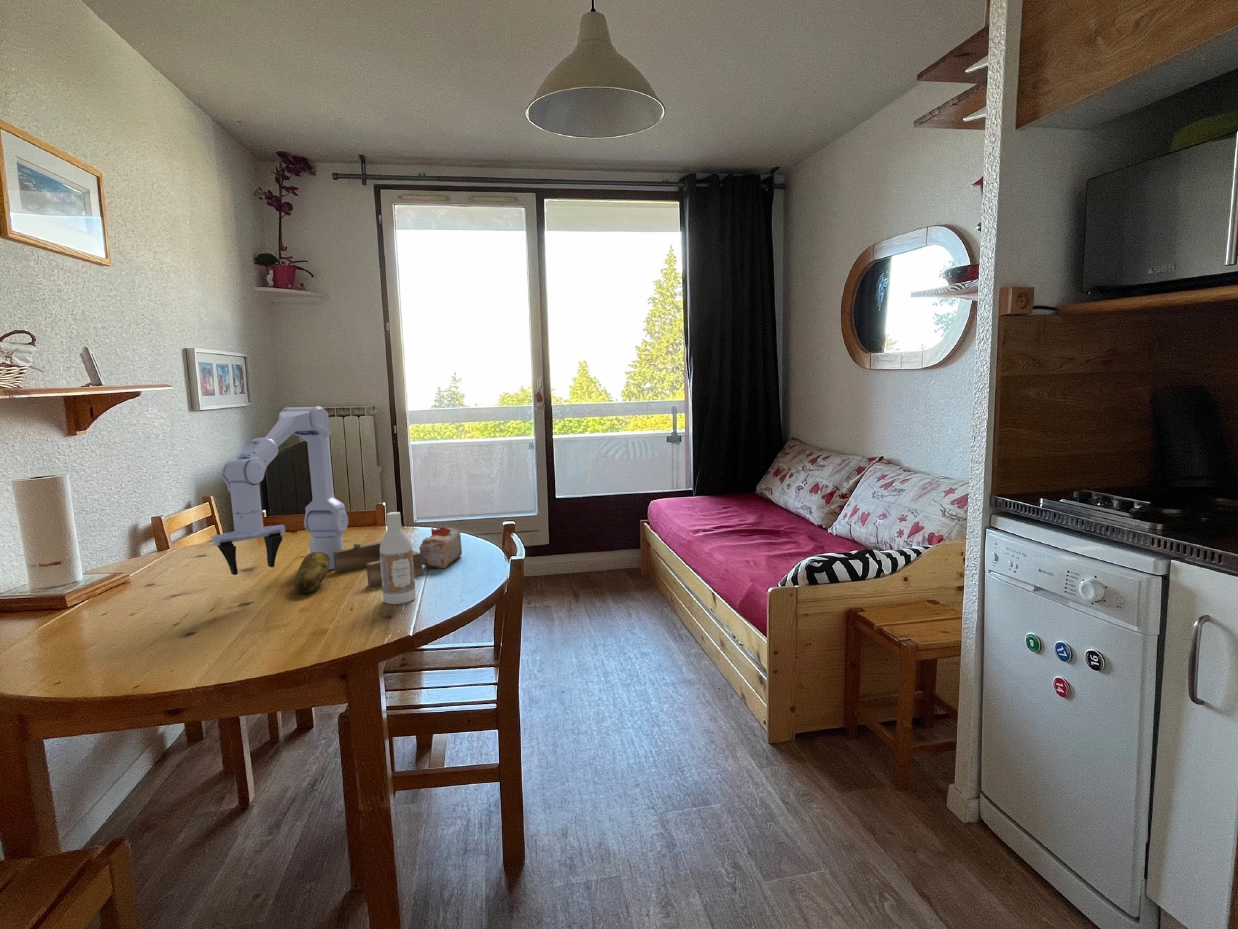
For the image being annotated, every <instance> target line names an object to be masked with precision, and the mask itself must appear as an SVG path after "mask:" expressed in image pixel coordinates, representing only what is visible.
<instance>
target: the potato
mask: <svg viewBox="0 0 1238 929" xmlns="http://www.w3.org/2000/svg"><path fill="white" fill-rule="evenodd" d="M329 566H330V557H329V556H328V554H325V553H323V552H314V553H310V552H309V553H308V554H307V555H306V556H304V558H303V560H302V561H301V564H300V566H299V567H298V570H297V573H296V575H295V579H294V583H293V585H294V589H295V590H296V591H298V592H299V593H302V594H308V593H312V592H313V591H314V590H316V589H317V587H318V586H319V585H320V584H321V583H322V582H323V580H324V579H325V577H326V575H327V573H328V571H329V570H328V569H329Z"/></svg>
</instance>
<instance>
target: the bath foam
mask: <svg viewBox="0 0 1238 929" xmlns="http://www.w3.org/2000/svg"><path fill="white" fill-rule="evenodd" d="M401 517H402V516H401V512H400V511H393V512H391V511H390V512H387V513H386V526H387V530H386V531H385V533H384V535H383V537H382V538H381V541H380V542H381V544H380V565H381V577H382V585H381V588H382V589H381V590H382V599H383V602H384V603H385V604H388V605H402V604H406V603H410V602H412V601H413V600H415V598H416V582H415V581H416V580H415V576H414V565H413V551H414V550H413V546H412V541H411V539H410V538H409V536H408V535H407V534H406V532H405V531H404V529H402V520H401V519H402V518H401Z"/></svg>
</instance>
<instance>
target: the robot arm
mask: <svg viewBox="0 0 1238 929" xmlns="http://www.w3.org/2000/svg"><path fill="white" fill-rule="evenodd" d="M292 435H295V436H298V437H300V438H301V439H303V440H304V441H305V442H306V443H307V455H308V464H309V466H308V467H309V475H310V484H311V494H312V495H311V496H312V500H311V502H310V503H308V504H307V505H306V506H305V507H304V510H305V514H304V518H303V519H304V520H303V524H304V528H305V530H306V531H307V533H309V534H310V535H309V536H311V537H310V540H309V554H310V553H314V552H323V553H325V554H328V556H329V557H330V566H329V569H328V571H331V570H335V565H334V554H333V551H338V550H343V549H344V541H343V534H344V533H345V531H346V530H347V528H348V525H349V516H348V514H347V510H346V506H345V504H344V503H343V502H342V501H340V500H338V499H337V498H335V493H334V483H333V482H334V481H333V472H332V471H333V468H332V459H331V458H332V457H331V448H330V438H329V437H330V436H331V429H330V416H329V413H328V412H327V410H326V409H325V408H323V406H321V405H319V406H317V405H316V406H303V407H301V406H300V407H299V406H298V407H291V406H287V407H284V408H283V409H282V410H281V412H279V413H278V421H277V422H276V423H275V424H274V426H273V427H272V428H271V429H270V430H269V431H268V433H267V434H266V436H264V437H258V438H253V439H252V440H251V444H250V445H249V446H248V447H247V448H245V450H244V451H242V452H240V454H239V455H238V457H237V458H232V459H230V460H228V461H227V462H226V463H225V464H224V466H223V470H222V472H221V477H222V480H223V482H224V483H225V484H226V486H227V491H228V492H229V493H230V501H231V509H232V510H231V511H232V519H233V529H234V531H230V532H224V533H221V534H216V535H211V543H212V545H213V546H214V547H215V546H217V548H218V549H219V551H220V552H221V554H222V555H223V557H224V559H225V560H226V562H227V565H228V567H229V570H230V573H231V575H234V576H236V575H238V574H239V573H238V572H239V571H238V570H239V569H238V565H237V564H238V563H237V557H236V556H237V546H235V545H234V543H236V542H240V541H246V540H247V541H248V540H252V539H258V538H263V539H264V544H265V547H266V561H267V562H266V563H267V566H268V567H269V568H275V565H276V558H277V554H278V551H279V547H280V546H281V543H282V542H283V535H285V534H286V525H284V524H278V525H270V526H269V525H268V526H264V518H263V509H262V500H261V499H262V498H261V489H260V482H262V481H263V480H264V478H265V474H266V471H267V468H268V466H269V464H270V463H271V462H272V461H273V460H274V459H275V458H276V457H277V455H278V454H279V448H278V447H280V446H281V445H282V444H283V443H284V442H285V441H286V440H287V439H289V438H290V437H291V436H292Z"/></svg>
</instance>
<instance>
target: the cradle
mask: <svg viewBox="0 0 1238 929" xmlns="http://www.w3.org/2000/svg"><path fill="white" fill-rule="evenodd" d="M380 544H381V541H378V542H373V543H368V544H364V545H363V544H362V545H361V543H360V542H355V543H353V547H348V548H343V550H338V551H333V554H334V565H335V569H334V572H335V573H336V574H341V573H345V572H350V571H353V570H358V569H363V568H366V572H367V573H366V575H367V586H368V587H371V588H374V587H377V586H382V577H381V565H380ZM412 551H413V565H414V577H416V576H421V575H423V565H422V559H421V553H420V551H419V552H418V551H415V550H412Z"/></svg>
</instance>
